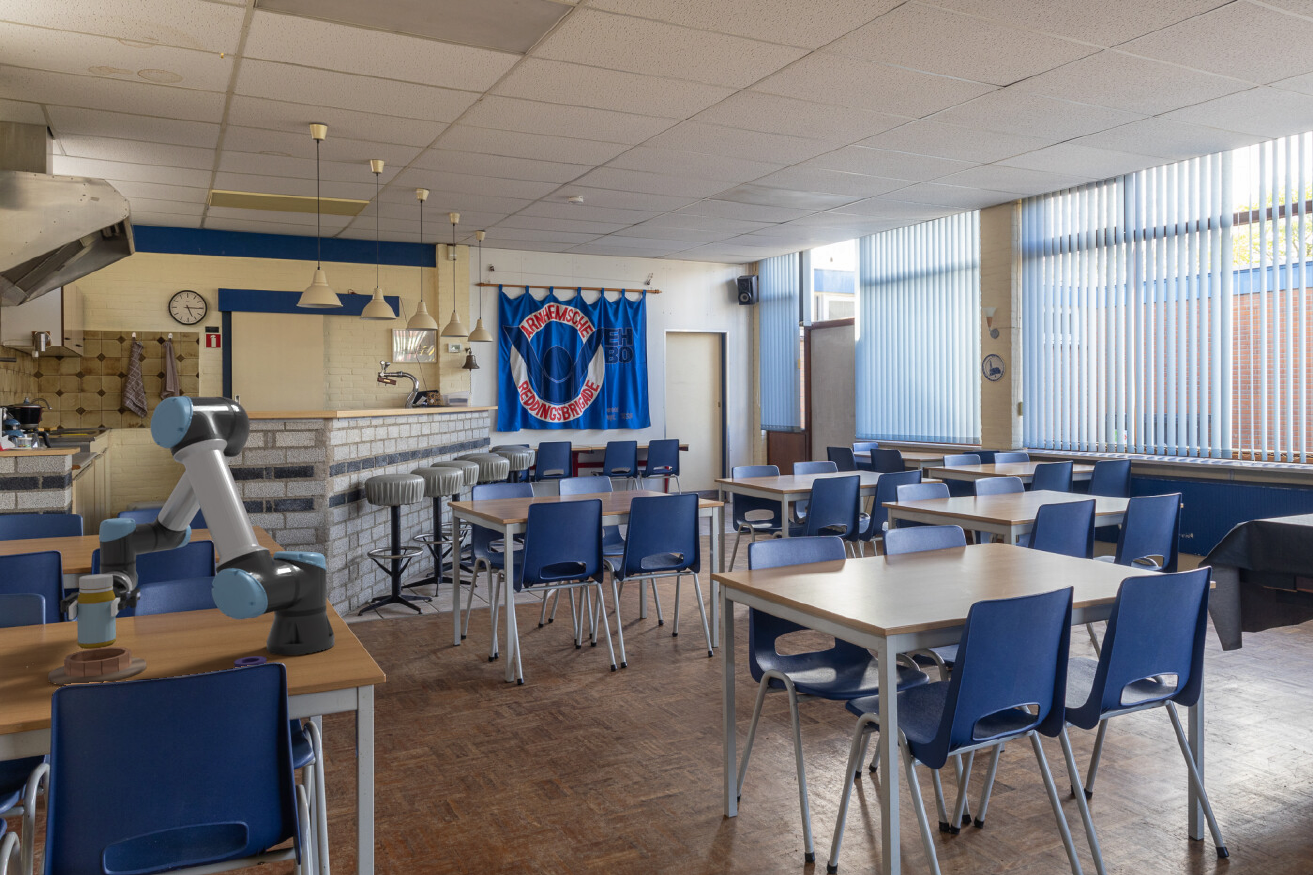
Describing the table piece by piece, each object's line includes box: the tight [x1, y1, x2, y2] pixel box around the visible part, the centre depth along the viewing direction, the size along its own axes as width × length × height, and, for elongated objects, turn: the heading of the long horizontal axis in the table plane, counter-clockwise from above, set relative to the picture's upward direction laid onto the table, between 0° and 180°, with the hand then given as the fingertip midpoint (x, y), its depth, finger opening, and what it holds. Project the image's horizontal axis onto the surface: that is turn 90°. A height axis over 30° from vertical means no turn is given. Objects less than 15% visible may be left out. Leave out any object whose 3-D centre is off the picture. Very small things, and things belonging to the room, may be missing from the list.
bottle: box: [76, 573, 117, 650], centre depth 193 cm, size 7×7×15 cm
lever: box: [233, 655, 267, 668], centre depth 190 cm, size 12×6×3 cm, turn 163°
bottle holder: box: [47, 646, 147, 686], centre depth 193 cm, size 18×18×4 cm
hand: (92, 611), depth 188 cm, fingers closed on bottle, 7 cm apart
